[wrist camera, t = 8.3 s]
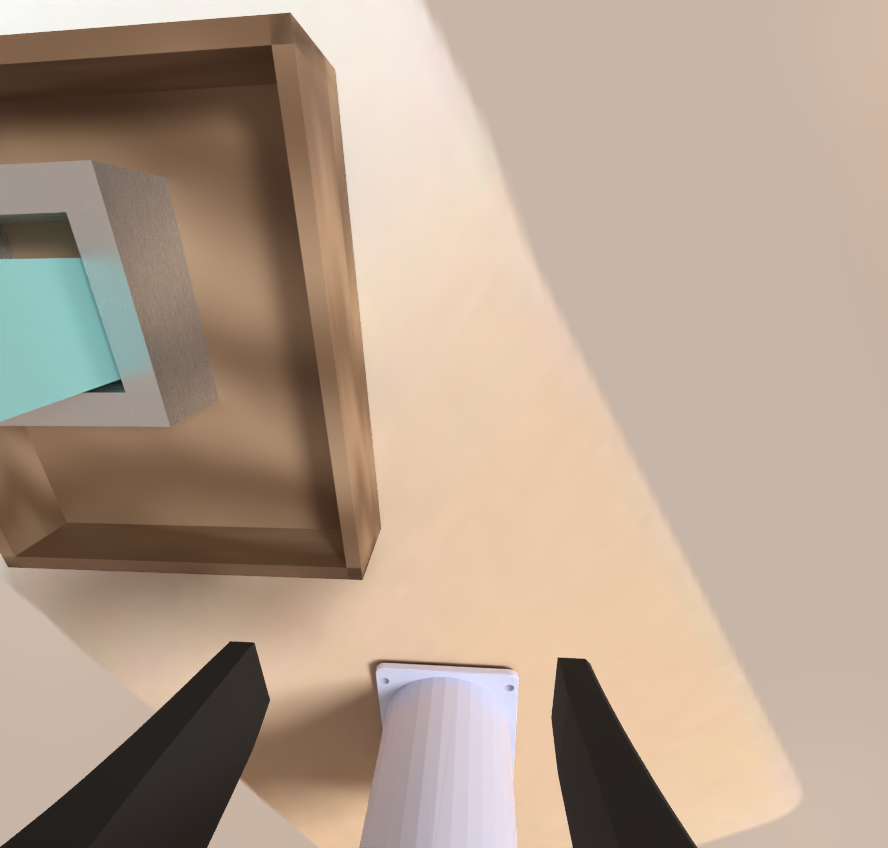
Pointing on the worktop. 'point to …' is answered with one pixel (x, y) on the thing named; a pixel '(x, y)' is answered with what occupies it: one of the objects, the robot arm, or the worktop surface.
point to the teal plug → (49, 335)
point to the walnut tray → (206, 306)
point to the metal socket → (120, 290)
